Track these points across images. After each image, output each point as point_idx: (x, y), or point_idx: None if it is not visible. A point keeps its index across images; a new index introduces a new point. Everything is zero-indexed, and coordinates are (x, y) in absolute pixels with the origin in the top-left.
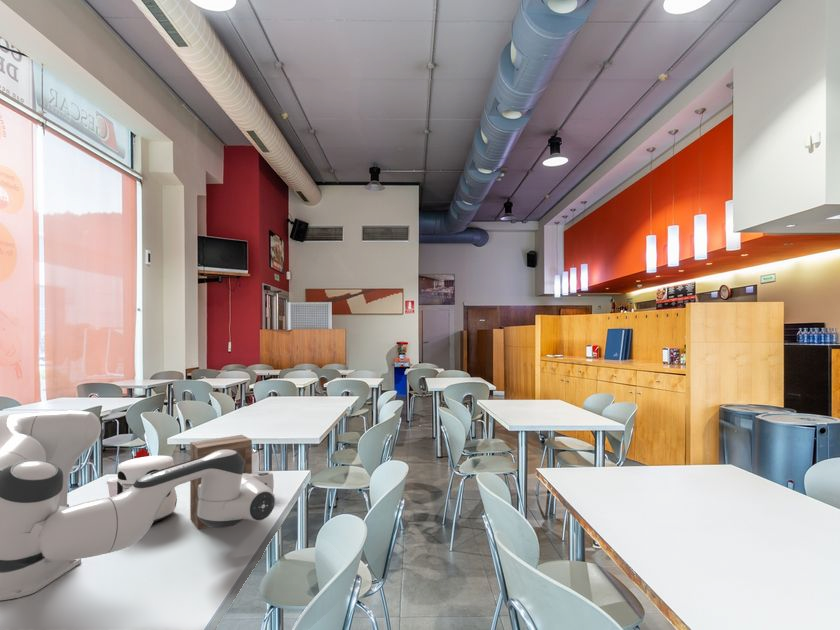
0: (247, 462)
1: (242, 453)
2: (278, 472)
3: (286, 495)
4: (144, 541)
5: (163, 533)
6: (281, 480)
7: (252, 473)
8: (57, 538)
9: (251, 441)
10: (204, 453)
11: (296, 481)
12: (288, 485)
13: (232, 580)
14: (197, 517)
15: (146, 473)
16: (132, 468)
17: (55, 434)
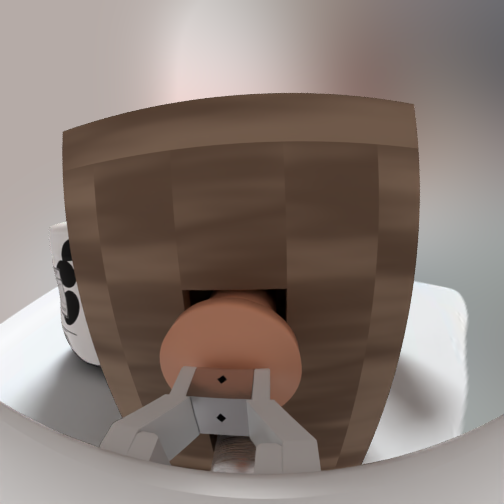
0: (389, 265)
1: (358, 189)
2: (414, 285)
3: (456, 371)
4: (42, 422)
5: (87, 422)
6: (426, 308)
7: (467, 457)
8: None
9: (413, 115)
10: (90, 161)
11: (458, 317)
12: (447, 328)
13: None
14: None
15: (63, 245)
16: (50, 228)
17: None
